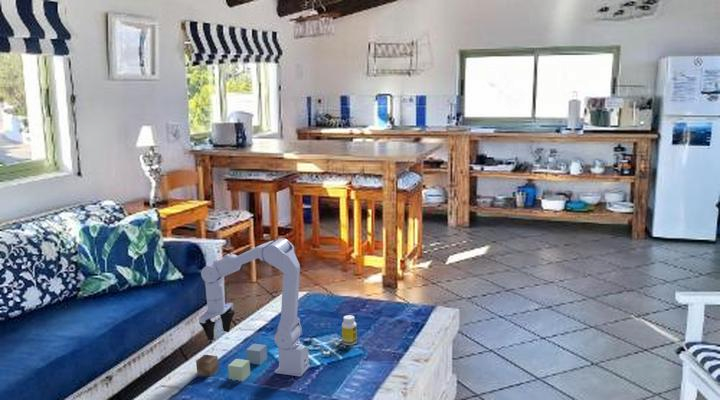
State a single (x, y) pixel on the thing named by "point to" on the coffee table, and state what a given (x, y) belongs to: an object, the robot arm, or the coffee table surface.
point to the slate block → (257, 353)
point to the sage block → (239, 369)
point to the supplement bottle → (349, 330)
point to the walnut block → (207, 365)
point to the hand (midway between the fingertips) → (218, 335)
